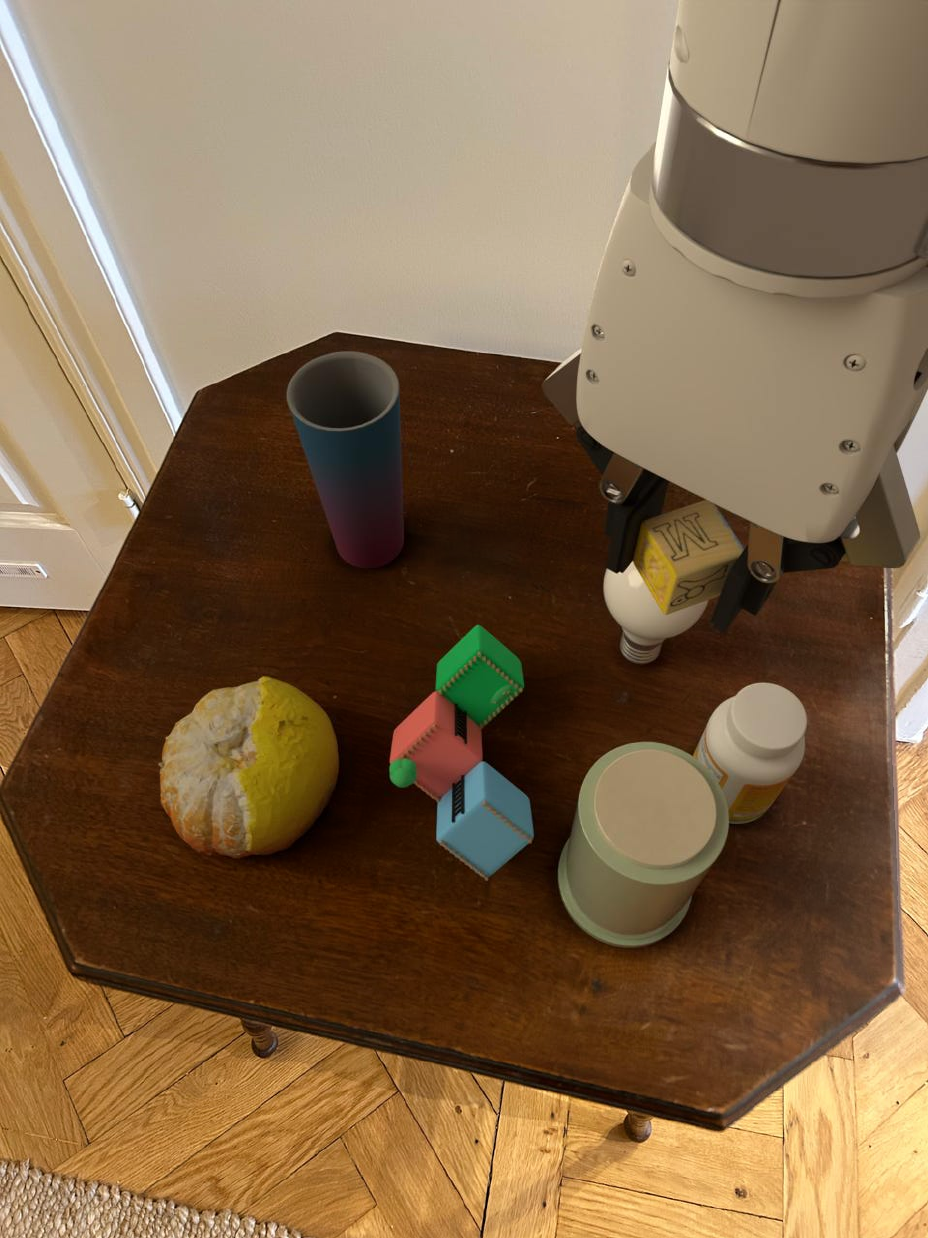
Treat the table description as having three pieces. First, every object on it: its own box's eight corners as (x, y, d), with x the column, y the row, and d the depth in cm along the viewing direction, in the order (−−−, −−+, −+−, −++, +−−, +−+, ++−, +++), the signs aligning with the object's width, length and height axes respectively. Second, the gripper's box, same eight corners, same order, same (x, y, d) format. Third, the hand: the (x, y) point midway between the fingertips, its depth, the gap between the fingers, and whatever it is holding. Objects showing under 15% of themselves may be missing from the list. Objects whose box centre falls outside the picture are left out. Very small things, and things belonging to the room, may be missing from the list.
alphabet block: (732, 595, 37) (749, 551, 35) (664, 619, 37) (676, 576, 34) (696, 540, 39) (710, 494, 36) (630, 562, 38) (640, 517, 36)
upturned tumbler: (714, 863, 54) (766, 786, 44) (649, 977, 50) (689, 922, 40) (601, 792, 56) (625, 703, 46) (531, 895, 53) (541, 824, 43)
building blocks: (481, 771, 62) (486, 885, 51) (392, 699, 60) (377, 801, 49) (564, 696, 60) (587, 798, 49) (474, 618, 58) (478, 706, 47)
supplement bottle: (785, 769, 57) (836, 697, 49) (754, 842, 54) (801, 779, 46) (705, 730, 58) (740, 654, 50) (671, 799, 56) (702, 731, 48)
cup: (406, 584, 65) (386, 436, 52) (314, 573, 66) (273, 424, 53) (423, 510, 69) (408, 356, 56) (336, 501, 69) (302, 346, 57)
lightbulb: (574, 635, 62) (588, 537, 53) (651, 599, 64) (679, 498, 55) (624, 708, 59) (649, 618, 50) (704, 668, 61) (743, 573, 51)
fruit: (228, 673, 61) (231, 623, 54) (360, 754, 61) (381, 715, 54) (121, 814, 55) (109, 779, 48) (267, 904, 55) (276, 881, 48)
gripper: (1217, 190, 21) (912, 615, 36) (601, 1, 27) (562, 437, 42) (1121, 375, 18) (831, 754, 33) (447, 117, 24) (466, 542, 39)
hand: (682, 574), depth 38 cm, fingers closed on alphabet block, 4 cm apart
